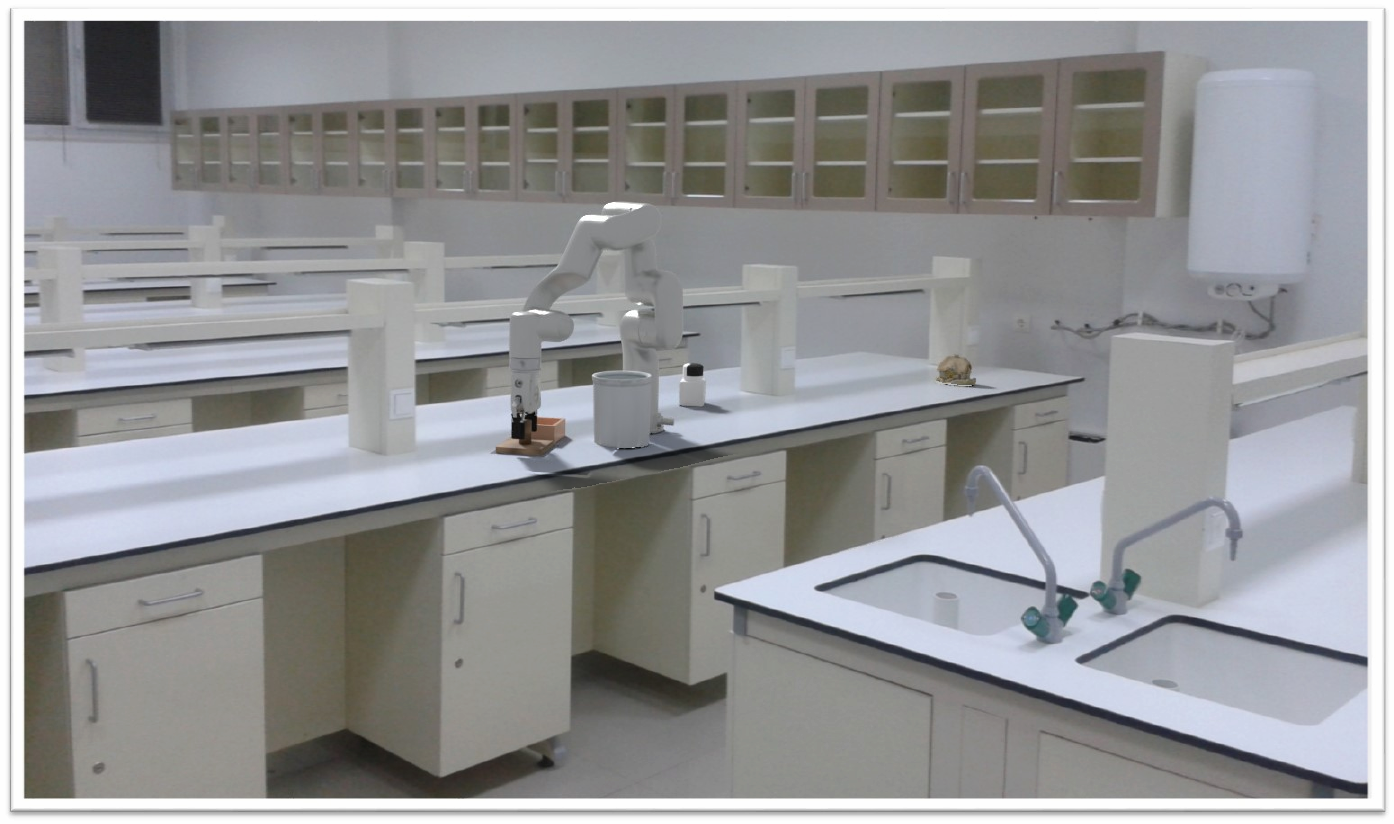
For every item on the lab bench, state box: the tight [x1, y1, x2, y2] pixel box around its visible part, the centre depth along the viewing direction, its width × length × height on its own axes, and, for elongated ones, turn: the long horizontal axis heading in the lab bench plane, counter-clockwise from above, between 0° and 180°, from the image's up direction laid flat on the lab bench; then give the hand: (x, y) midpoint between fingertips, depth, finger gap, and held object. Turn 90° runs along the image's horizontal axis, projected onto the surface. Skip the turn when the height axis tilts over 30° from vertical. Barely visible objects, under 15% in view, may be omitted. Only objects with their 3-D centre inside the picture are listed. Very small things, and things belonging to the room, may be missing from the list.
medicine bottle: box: [678, 362, 707, 408], centre depth 370 cm, size 7×7×12 cm
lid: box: [495, 419, 555, 456], centre depth 302 cm, size 11×11×7 cm
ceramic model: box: [934, 353, 977, 386], centre depth 422 cm, size 14×11×10 cm
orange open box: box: [531, 416, 566, 445], centre depth 315 cm, size 10×10×5 cm
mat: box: [490, 444, 559, 458], centre depth 303 cm, size 13×13×1 cm
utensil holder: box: [591, 370, 652, 448], centre depth 313 cm, size 15×15×18 cm
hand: (524, 435), depth 302 cm, fingers open, 9 cm apart
